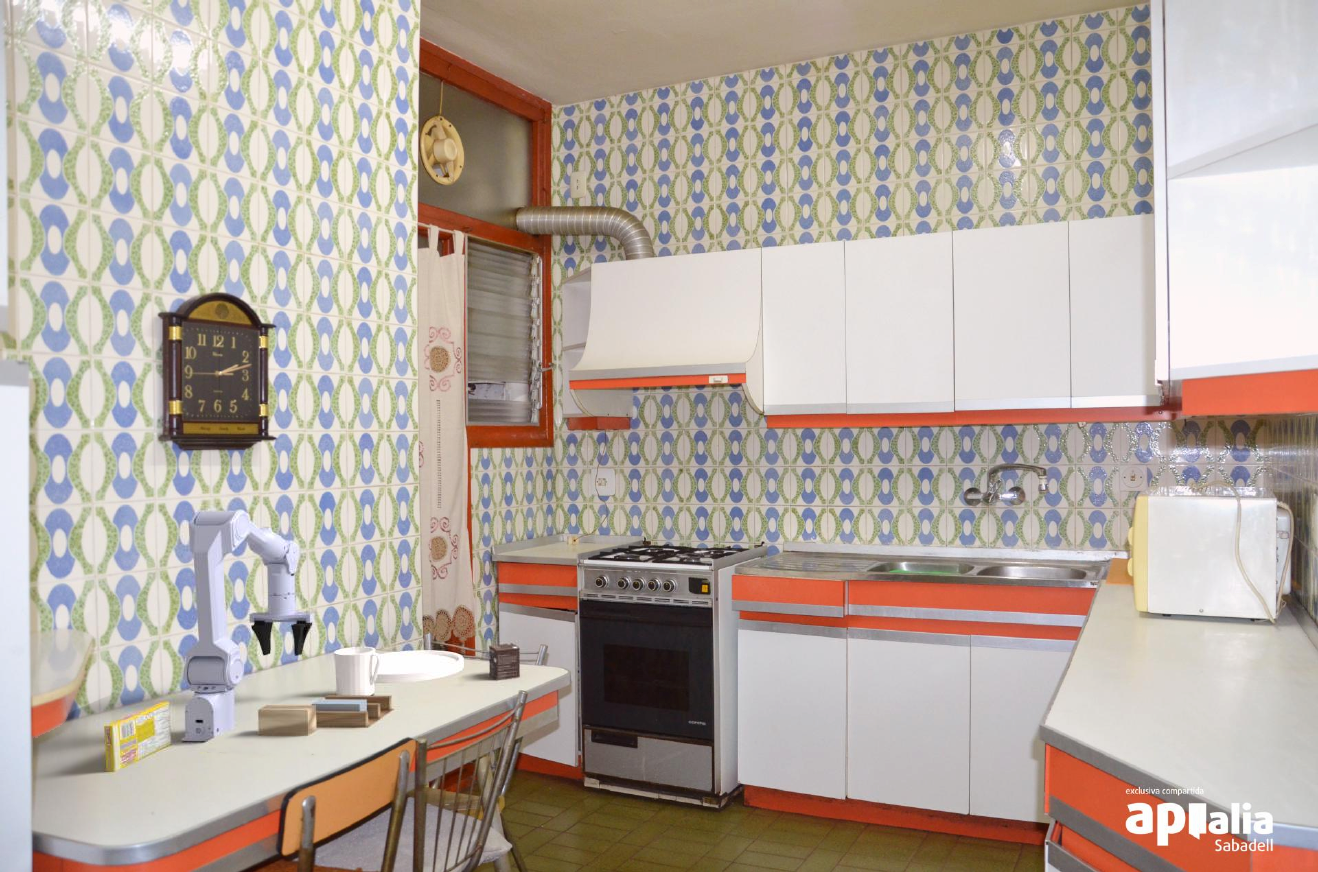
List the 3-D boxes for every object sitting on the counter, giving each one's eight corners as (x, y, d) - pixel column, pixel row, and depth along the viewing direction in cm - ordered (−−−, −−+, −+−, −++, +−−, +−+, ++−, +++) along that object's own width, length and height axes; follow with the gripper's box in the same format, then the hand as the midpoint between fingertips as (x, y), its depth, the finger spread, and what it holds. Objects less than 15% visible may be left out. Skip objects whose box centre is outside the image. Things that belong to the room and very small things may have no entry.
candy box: (162, 744, 194) (161, 701, 194) (172, 744, 194) (171, 701, 194) (104, 771, 178) (103, 724, 178) (115, 772, 178) (114, 724, 178)
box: (489, 675, 246) (488, 645, 246) (513, 672, 249) (512, 642, 249) (496, 680, 241) (495, 649, 241) (520, 677, 243) (519, 647, 243)
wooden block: (308, 741, 194) (307, 709, 194) (258, 740, 195) (258, 709, 195) (316, 736, 198) (315, 705, 198) (267, 735, 199) (267, 704, 199)
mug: (327, 700, 225) (326, 654, 225) (348, 690, 234) (347, 646, 234) (371, 702, 222) (370, 655, 223) (391, 692, 231) (390, 647, 231)
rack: (367, 732, 199) (367, 712, 199) (294, 731, 200) (294, 712, 200) (394, 713, 213) (394, 695, 213) (326, 712, 214) (325, 694, 214)
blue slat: (360, 724, 201) (359, 703, 201) (311, 723, 202) (311, 703, 202) (367, 719, 205) (366, 699, 205) (319, 718, 206) (319, 699, 206)
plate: (332, 685, 241) (331, 675, 241) (369, 660, 269) (369, 650, 269) (448, 683, 240) (448, 673, 240) (474, 658, 268) (474, 649, 268)
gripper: (320, 591, 230) (321, 651, 230) (260, 591, 232) (261, 650, 232) (305, 595, 223) (306, 657, 223) (243, 595, 225) (244, 657, 225)
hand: (282, 654), depth 227 cm, fingers open, 7 cm apart
